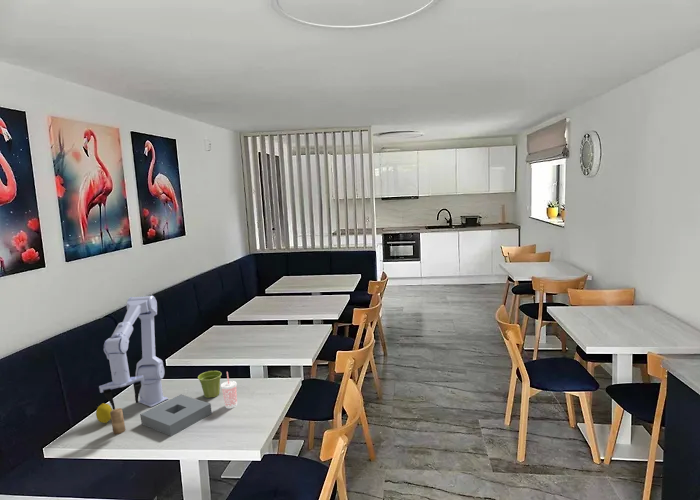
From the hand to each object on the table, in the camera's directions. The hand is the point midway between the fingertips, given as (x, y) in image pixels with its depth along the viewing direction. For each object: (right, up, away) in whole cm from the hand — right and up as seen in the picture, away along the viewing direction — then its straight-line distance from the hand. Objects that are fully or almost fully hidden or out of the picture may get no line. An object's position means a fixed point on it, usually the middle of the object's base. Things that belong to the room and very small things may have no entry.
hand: (125, 405), depth 176 cm
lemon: (-11, -10, +8) cm, 16 cm away
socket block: (+16, -7, +7) cm, 19 cm away
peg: (-3, -10, +1) cm, 10 cm away
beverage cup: (+35, -5, +14) cm, 38 cm away
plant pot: (+24, -4, +25) cm, 35 cm away
